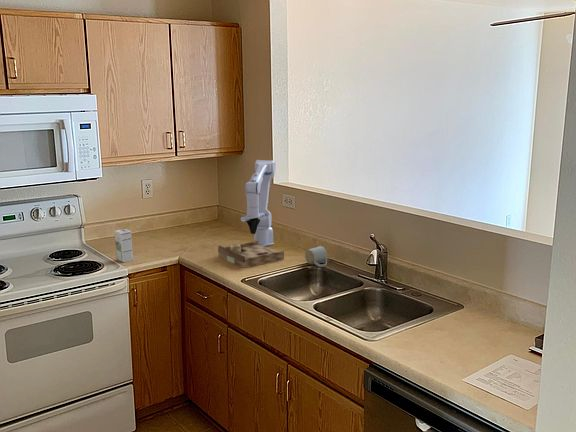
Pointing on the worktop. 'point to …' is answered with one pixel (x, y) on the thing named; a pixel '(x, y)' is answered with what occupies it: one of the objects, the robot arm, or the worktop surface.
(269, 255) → the trap box
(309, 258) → the ceramic mug
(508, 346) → the worktop surface
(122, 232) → the syrup box
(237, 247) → the maple block
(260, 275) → the worktop surface
